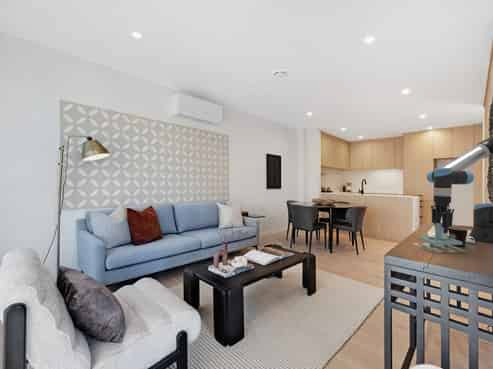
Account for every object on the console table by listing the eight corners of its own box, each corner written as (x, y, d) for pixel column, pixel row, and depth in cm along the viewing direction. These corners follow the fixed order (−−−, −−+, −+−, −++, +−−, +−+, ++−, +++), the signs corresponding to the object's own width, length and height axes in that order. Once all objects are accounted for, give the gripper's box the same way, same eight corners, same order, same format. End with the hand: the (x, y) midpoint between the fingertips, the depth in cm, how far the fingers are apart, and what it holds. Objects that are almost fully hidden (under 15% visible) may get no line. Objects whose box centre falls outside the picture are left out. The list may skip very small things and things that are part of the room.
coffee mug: (471, 247, 135) (471, 230, 135) (453, 247, 137) (454, 229, 137) (457, 241, 147) (458, 225, 146) (441, 241, 149) (441, 225, 148)
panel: (447, 239, 137) (447, 221, 137) (462, 244, 127) (463, 225, 127) (420, 239, 138) (421, 221, 137) (433, 244, 128) (434, 225, 127)
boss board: (443, 244, 142) (443, 237, 142) (464, 252, 128) (464, 244, 128) (412, 244, 143) (413, 237, 142) (430, 252, 129) (430, 245, 128)
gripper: (424, 194, 140) (423, 233, 141) (447, 197, 123) (446, 242, 124) (437, 194, 139) (436, 233, 141) (462, 197, 123) (461, 241, 124)
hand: (441, 237), depth 132 cm, fingers closed on panel, 3 cm apart
